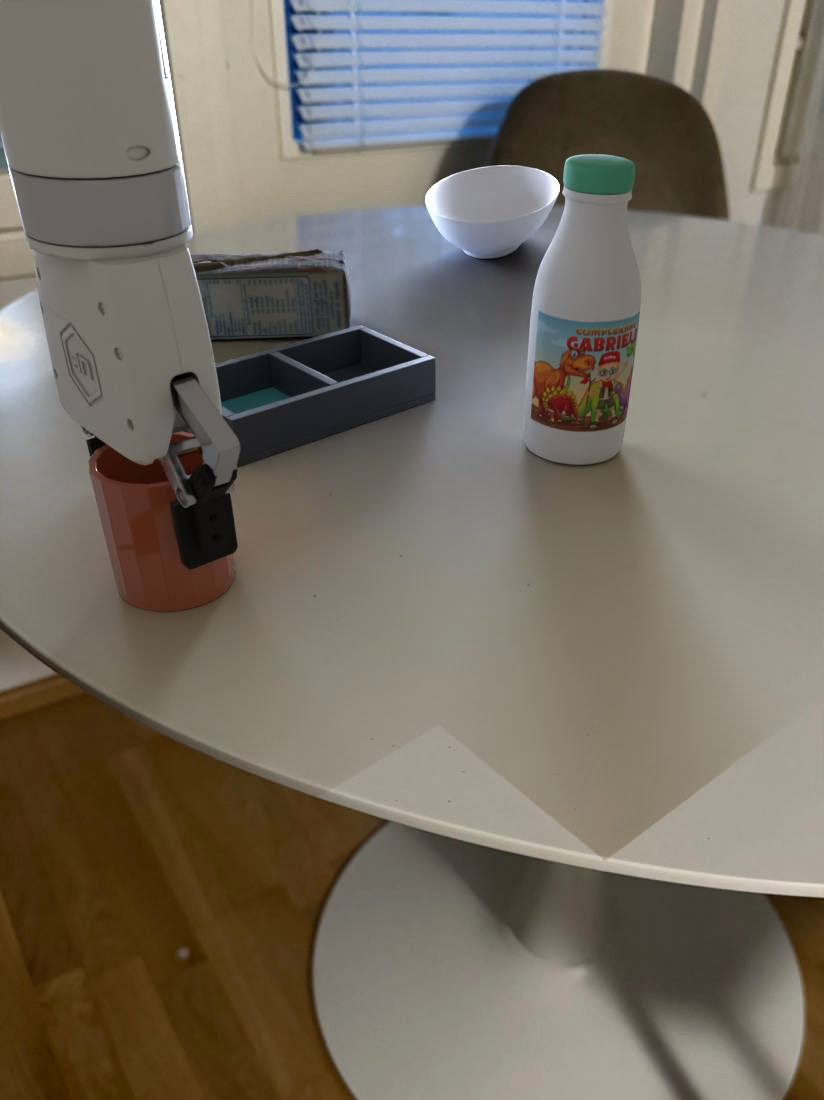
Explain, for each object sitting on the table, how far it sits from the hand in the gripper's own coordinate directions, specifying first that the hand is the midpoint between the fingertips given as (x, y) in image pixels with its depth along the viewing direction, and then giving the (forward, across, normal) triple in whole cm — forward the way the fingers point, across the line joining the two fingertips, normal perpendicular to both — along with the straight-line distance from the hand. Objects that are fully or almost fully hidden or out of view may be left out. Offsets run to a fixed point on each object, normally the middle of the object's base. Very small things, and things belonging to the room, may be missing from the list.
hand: (167, 525), depth 55 cm
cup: (+4, 0, 0) cm, 4 cm away
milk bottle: (+4, +3, +32) cm, 32 cm away
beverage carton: (+4, -34, +27) cm, 44 cm away
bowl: (+4, -41, +66) cm, 78 cm away
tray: (+4, -15, +20) cm, 25 cm away
